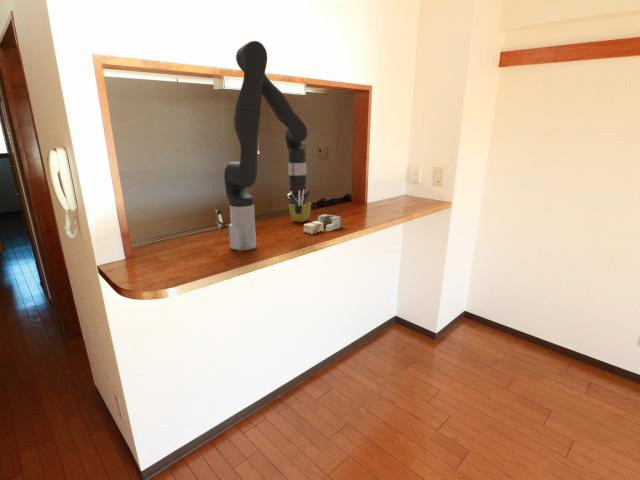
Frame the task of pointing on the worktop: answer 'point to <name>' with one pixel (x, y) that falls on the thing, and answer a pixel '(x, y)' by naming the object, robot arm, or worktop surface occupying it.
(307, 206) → the flower pot
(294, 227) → the worktop surface
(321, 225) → the cream pronged block
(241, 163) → the robot arm
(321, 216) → the channel
